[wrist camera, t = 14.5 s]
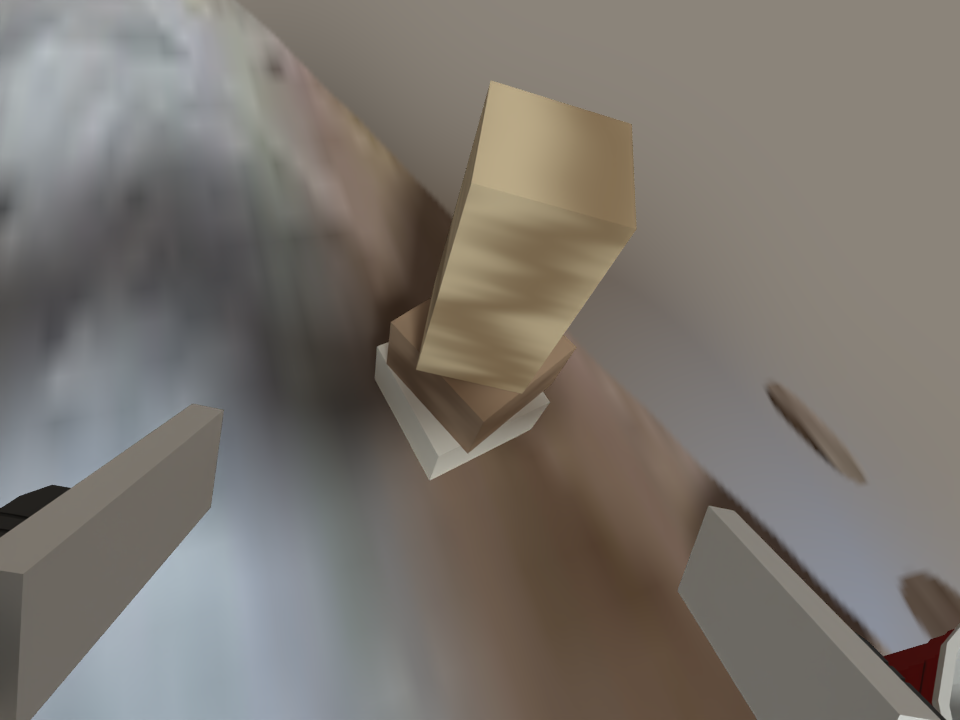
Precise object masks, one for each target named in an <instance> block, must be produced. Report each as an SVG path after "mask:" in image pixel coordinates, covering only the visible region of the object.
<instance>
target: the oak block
mask: <svg viewBox="0 0 960 720" xmlns="http://www.w3.org/2000/svg"><path fill="white" fill-rule="evenodd" d="M632 143H633V142H632V124H629V123H626V122H623V121H620V120H616V119H613V118H610V117H607V116H604V115H600V114H597V113H594V112H591V111H587V110H584V109H581V108H578V107H574V106H571V105H568V104H565V103H561V102H558V101H555V100H552V99H549V98H546V97H542V96H539V95H536V94H532V93H529V92H526V91H523V90H520V89H517V88H513V87H510V86H507V85H504V84H501V83H497V82H494V81H490V86H489V89H488V92H487V96H486V99H485V103H484V107H483V110H482V114H481V118H480V121H479V125H478V128H477V132H476V136H475V139H474V143H473V146H472V150H471V153H470V157H469V161H468V164H467V168H466V171H465V175H464V179H463V183H462V186H461V189H460V193H459V197H458V200H457V204H456V208H455V211H454V215H453V218H452V222H451V225H450V229H449V233H448V236H447V240H446V243H445V247H444V251H443V254H442V258H441V261H440V265H439V269H438V272H437V276H436V279H435V283H434V287H433V292H432V297H431V301H430V306H429V311H428V316H427V320H426V325H425V330H424V335H423V339H422V344H421V349H420V353H419V358H418V363H417V368H416V370H419V371H424V372H428V373H433V374H437V375H441V376H446V377H450V378H455V379H459V380H463V381H468V382H472V383H477V384H481V385H485V386H490V387H494V388H499V389H503V390H507V391H512V392H516V393H521V394H522V393H523V392H524V391H525V389H526V388H527V386H528V385H529V383H530V382H531V380H532V379H533V378H534V376H535V375H536V373H537V372H538V370H539V369H540V368H541V366H542V365H543V363H544V362H545V360H546V359H547V357H548V356H549V355H550V353H551V352H552V350H553V349H554V347H555V346H556V344H557V343H558V342H559V340H560V339H561V337H562V336H563V334H564V333H565V331H566V330H567V329H568V327H569V326H570V324H571V323H572V321H573V320H574V318H575V317H576V315H577V314H578V313H579V311H580V310H581V308H582V307H583V306H584V304H585V303H586V301H587V300H588V298H589V297H590V295H591V294H592V293H593V291H594V290H595V288H596V287H597V285H598V284H599V282H600V281H601V280H602V278H603V277H604V275H605V274H606V272H607V271H608V269H609V268H610V267H611V265H612V264H613V262H614V261H615V259H616V258H617V256H618V255H619V254H620V252H621V250H622V249H623V248H624V246H625V245H626V244H627V242H628V241H629V239H630V238H631V236H632V235H633V233H634V232H635V231H636V210H635V187H634V166H633V144H632Z"/></svg>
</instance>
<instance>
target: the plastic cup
mask: <svg viewBox="0 0 960 720" xmlns="http://www.w3.org/2000/svg"><path fill="white" fill-rule="evenodd" d="M883 657H884V658H885V659H886V660H887V661H888V662H889V666H893V667H894V668H895V669H896V670H897V671H898V672H899V673H900V674H901V675H902V676H903V677H904V678H905V682H907V683H910V684H911V685H912V686H913V687H914V688H915V689H916V690H917V691H918V692H919V693H920V694H921V695H922V696H923V697H924V698H925V699H926V700H927V701H928V702H929V703H930V704H931V705H932V706H933V707H934V708H935V709H936V710H937V711H938V712H939V713H940V714H941V715H942V716H943V717H944V718H945V719H946V720H960V623H959V625H958V626H957V627H956V628H955V629H953V630H950V631H948V632H947V633H946V634H945V635H943V636H940V637H937V638H934V639H931V640H930V641H929V642H928V643H926V644H923V645H919V646H916V647H913V648H909V649H906V650H903V651H899V652H896V653H893V654H889V655H886V656H883Z"/></svg>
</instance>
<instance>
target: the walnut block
mask: <svg viewBox="0 0 960 720" xmlns="http://www.w3.org/2000/svg"><path fill="white" fill-rule="evenodd" d="M430 301H431V298H429V299H428V300H426V301H424V302H423V303H421V304H420V305H418V306H416V307H415V308H413V309H411V310H410V311H408V312H406V313H405V314H403V315H402V316H400V317H398V318H397V319H395V320H393V321H392V322H391V326H390V335H389V345H388V354H387V363H386V364H387V365H388V366H389V367H390V368H391V369H392V370H393V372H394V373H395V374H396V375H397V376H398V377H399V378H400V379H401V380H402V381H403V383H404V384H405V385H406V386H407V387H408V388H409V389H410V390H411V391H412V393H413V394H414V395H415V396H416V397H417V398H418V399H419V400H420V401H421V403H422V404H423V405H424V406H425V407H426V408H427V409H428V410H429V411H430V412H431V414H432V415H433V416H434V417H435V418H436V419H437V420H438V421H439V422H440V424H441V425H442V426H443V427H444V428H445V429H446V430H447V431H448V432H449V434H450V435H451V436H452V437H453V438H454V439H455V440H456V441H457V442H458V443H459V445H460V446H461V447H462V448H463V449H464V450H465V451H466V453H467V454H468V453H469V452H470V451H472V450H473V449H474V448H475V447H476V446H478V445H479V444H480V443H481V442H482V441H484V440H485V439H486V438H487V437H489V436H490V435H491V434H492V433H493V432H495V431H496V430H497V429H498V428H499V427H501V426H502V425H503V424H504V423H505V422H507V421H508V420H509V419H510V418H511V417H513V416H514V415H515V414H516V413H517V412H519V411H520V410H521V409H522V408H524V407H525V406H526V405H527V404H528V403H530V402H531V401H532V400H533V399H534V398H536V397H537V396H538V395H539V394H540V393H542V392H543V391H544V390H545V389H547V388H548V387H549V386H550V385H551V384H552V383H553V382H554V380H555V379H556V377H557V376H558V374H559V373H560V371H561V370H562V368H563V367H564V365H565V364H566V362H567V361H568V359H569V358H570V356H571V355H572V353H573V352H574V350H575V349H576V346H575V345H574V344H573V343H571V342H570V341H569V340H568V339H567V338H566V337H565V336H564V335H563V336H562V337H561V339H560V340H559V342H558V343H557V344H556V346H555V347H554V349H553V350H552V352H551V353H550V355H549V356H548V357H547V359H546V360H545V362H544V363H543V365H542V366H541V368H540V369H539V370H538V372H537V373H536V375H535V376H534V378H533V379H532V380H531V382H530V383H529V385H528V386H527V388H526V389H525V391H524V392H523V393H522V394H521V393H516V392H512V391H507V390H503V389H499V388H494V387H490V386H485V385H481V384H477V383H472V382H468V381H463V380H459V379H455V378H450V377H446V376H441V375H437V374H433V373H428V372H424V371H419V370H416V368H417V363H418V358H419V353H420V349H421V344H422V339H423V335H424V330H425V325H426V320H427V316H428V311H429V306H430Z"/></svg>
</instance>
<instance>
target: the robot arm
mask: <svg viewBox="0 0 960 720" xmlns="http://www.w3.org/2000/svg"><path fill="white" fill-rule="evenodd" d="M223 412H224V410H222V409H217V408H212V407H207V406H201V405H196V404H191V405H190V406H189V407H187V408H186V409H184V410H183V411H181V412H180V413H178V414H177V415H176V416H174V417H173V418H171V419H170V420H168V421H167V422H166V423H164V424H163V425H161V426H160V427H158V428H157V429H155V430H154V431H153V432H151V433H150V434H148V435H147V436H145V437H144V438H143V439H141V440H140V441H138V442H137V443H135V444H134V445H132V446H131V447H130V448H128V449H127V450H125V451H124V452H122V453H121V454H120V455H118V456H117V457H115V458H114V459H112V460H111V461H110V462H108V463H107V464H105V465H104V466H102V467H101V468H99V469H98V470H97V471H95V472H94V473H92V474H91V475H89V476H88V477H87V478H85V479H84V480H82V481H81V482H79V483H78V484H76V485H75V486H74V487H72V488H67V487H62V486H56V485H50V486H47V487H44V488H42V489H39V490H36V491H33V492H30V493H27V494H24V495H21V496H19V497H18V498H16V499H14V500H13V501H11V502H10V503H8V504H6V505H5V506H3V507H2V508H0V720H31V719H32V717H33V716H34V715H35V714H36V713H37V711H38V710H39V709H40V708H41V707H42V706H43V704H44V703H45V702H46V701H47V700H48V699H49V697H50V696H51V695H52V694H53V693H54V691H55V690H56V689H57V688H58V687H59V686H60V684H61V683H62V682H63V681H64V680H65V678H66V677H67V676H68V675H69V674H70V673H71V671H72V670H73V669H74V668H75V667H76V665H77V664H78V663H79V662H80V661H81V660H82V658H83V657H84V656H85V655H86V654H87V653H88V651H89V650H90V649H91V648H92V647H93V645H94V644H95V643H96V642H97V641H98V640H99V638H100V637H101V636H102V635H103V634H104V632H105V631H106V630H107V629H108V628H109V627H110V625H111V624H112V623H113V622H114V621H115V619H116V618H117V617H118V616H119V615H120V614H121V612H122V611H123V610H124V609H125V608H126V607H127V605H128V604H129V603H130V602H131V601H132V599H133V598H134V597H135V596H136V595H137V594H138V592H139V591H140V590H141V589H142V588H143V586H144V585H145V584H146V583H147V582H148V581H149V579H150V578H151V577H152V576H153V575H154V573H155V572H156V571H157V570H158V569H159V568H160V566H161V565H162V564H163V563H164V562H165V561H166V559H167V558H168V557H169V556H170V555H171V553H172V552H173V551H174V550H175V549H176V548H177V546H178V545H179V544H180V543H181V542H182V540H183V539H184V538H185V537H186V536H187V535H188V533H189V532H190V531H191V530H192V529H193V528H194V526H195V525H196V524H197V523H198V522H199V520H200V519H201V518H202V517H203V516H204V515H205V513H206V512H207V511H208V510H209V509H210V507H211V501H212V494H213V487H214V479H215V472H216V464H217V457H218V449H219V442H220V434H221V427H222V420H223ZM678 592H679V594H680V595H681V597H682V599H683V600H684V602H685V603H686V605H687V607H688V608H689V610H690V612H691V613H692V615H693V616H694V618H695V620H696V621H697V623H698V625H699V626H700V628H701V629H702V631H703V633H704V634H705V636H706V637H707V639H708V641H709V642H710V644H711V646H712V647H713V649H714V650H715V652H716V654H717V655H718V657H719V658H720V660H721V662H722V663H723V665H724V667H725V668H726V670H727V671H728V673H729V675H730V676H731V678H732V680H733V681H734V683H735V684H736V686H737V688H738V689H739V691H740V692H741V694H742V696H743V697H744V699H745V701H746V702H747V704H748V705H749V707H750V709H751V710H752V712H753V713H754V715H755V717H756V718H757V720H946V719H945V718H944V717H943V716H942V715H941V714H940V713H939V712H938V711H937V710H936V709H935V708H934V707H933V706H932V705H931V704H930V703H929V702H928V701H927V700H926V699H925V698H924V697H923V696H922V695H921V694H920V693H919V692H918V691H917V690H916V689H915V688H914V687H913V686H912V685H911V684H910V683H907V682H905V678H904V677H903V676H902V675H901V674H900V673H899V672H898V671H897V670H896V669H895V668H894V667H893V666H889V662H888V661H887V660H886V659H885V658H884V657H883V656H882V655H881V654H880V653H879V652H878V651H877V650H876V649H875V648H874V647H873V646H872V645H871V644H870V643H869V642H868V641H867V640H865V639H864V638H862V637H861V636H860V635H858V634H857V633H856V632H854V631H853V630H852V629H851V628H850V627H849V626H848V625H847V624H846V623H845V622H844V621H843V620H842V619H841V618H840V617H839V616H838V615H837V614H836V613H835V612H834V611H833V610H832V609H831V608H830V607H829V606H828V605H827V604H826V603H825V602H824V601H823V600H822V599H821V598H820V597H819V596H818V595H817V594H816V593H815V592H814V591H813V590H812V589H811V588H810V587H809V586H808V585H807V584H806V583H805V582H804V581H803V580H802V579H801V578H800V577H799V576H798V575H797V574H796V573H795V572H794V571H793V570H792V569H791V568H790V567H789V566H788V565H787V564H786V563H785V562H784V561H783V560H782V559H781V558H780V557H779V556H778V555H777V554H776V553H775V551H774V550H773V549H772V548H771V547H770V546H769V545H768V544H767V543H766V542H765V541H764V540H763V539H762V538H761V537H760V536H759V535H758V534H757V533H756V532H755V531H754V530H753V529H752V528H751V527H750V526H749V525H748V524H747V523H746V522H745V521H744V520H743V519H742V518H741V517H740V516H739V515H738V514H737V513H736V512H735V511H734V510H729V509H724V508H718V507H713V506H708V508H707V511H706V514H705V517H704V519H703V522H702V525H701V528H700V530H699V533H698V536H697V539H696V541H695V544H694V547H693V549H692V552H691V555H690V558H689V560H688V563H687V566H686V569H685V571H684V574H683V577H682V580H681V582H680V585H679V588H678Z"/></svg>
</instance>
